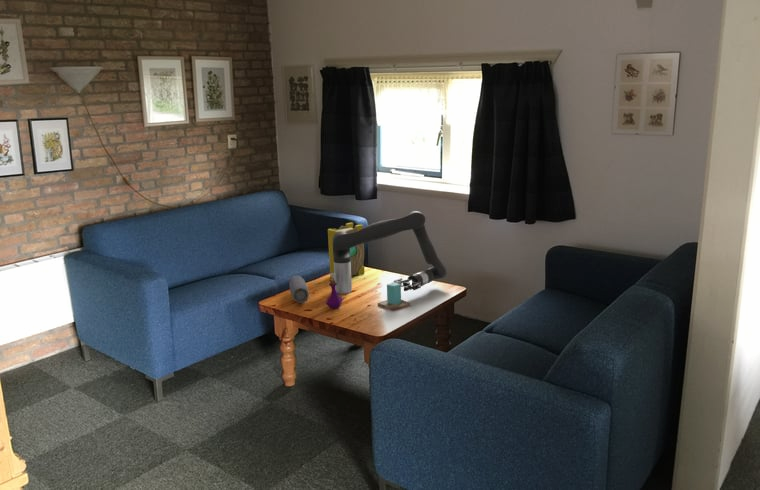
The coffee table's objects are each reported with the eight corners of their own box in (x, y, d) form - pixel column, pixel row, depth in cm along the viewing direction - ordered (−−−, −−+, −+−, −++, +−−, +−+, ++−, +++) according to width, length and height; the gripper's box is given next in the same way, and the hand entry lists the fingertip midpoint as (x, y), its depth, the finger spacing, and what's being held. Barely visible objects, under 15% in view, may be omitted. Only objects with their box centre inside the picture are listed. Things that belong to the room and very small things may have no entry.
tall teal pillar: (387, 303, 335) (386, 284, 332) (393, 300, 338) (393, 282, 336) (394, 305, 332) (394, 286, 329) (401, 302, 335) (400, 283, 333)
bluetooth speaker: (310, 304, 341) (309, 286, 339) (292, 306, 340) (291, 287, 337) (306, 291, 363) (305, 273, 360) (289, 292, 361) (288, 275, 359)
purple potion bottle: (339, 310, 332) (338, 276, 327) (325, 309, 333) (323, 275, 329) (343, 305, 339) (342, 271, 334) (329, 304, 340) (327, 271, 336)
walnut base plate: (377, 305, 336) (377, 290, 335) (396, 300, 344) (395, 285, 342) (392, 311, 327) (392, 296, 325) (410, 305, 334) (410, 291, 332)
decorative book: (339, 280, 379) (337, 230, 372) (328, 276, 388) (325, 227, 380) (366, 273, 392) (364, 224, 385) (354, 269, 400) (352, 221, 393)
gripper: (407, 270, 351) (387, 278, 339) (428, 275, 341) (408, 283, 330) (407, 284, 353) (387, 292, 341) (428, 289, 343) (408, 297, 332)
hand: (398, 287), depth 335 cm, fingers open, 8 cm apart
